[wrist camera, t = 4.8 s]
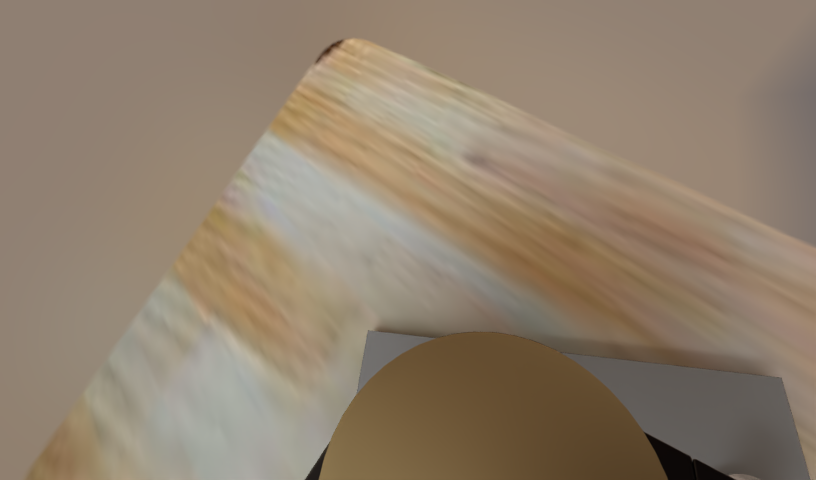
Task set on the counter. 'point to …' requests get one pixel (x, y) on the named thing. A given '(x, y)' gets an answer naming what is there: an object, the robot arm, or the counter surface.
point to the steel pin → (742, 477)
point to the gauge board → (678, 408)
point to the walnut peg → (487, 418)
